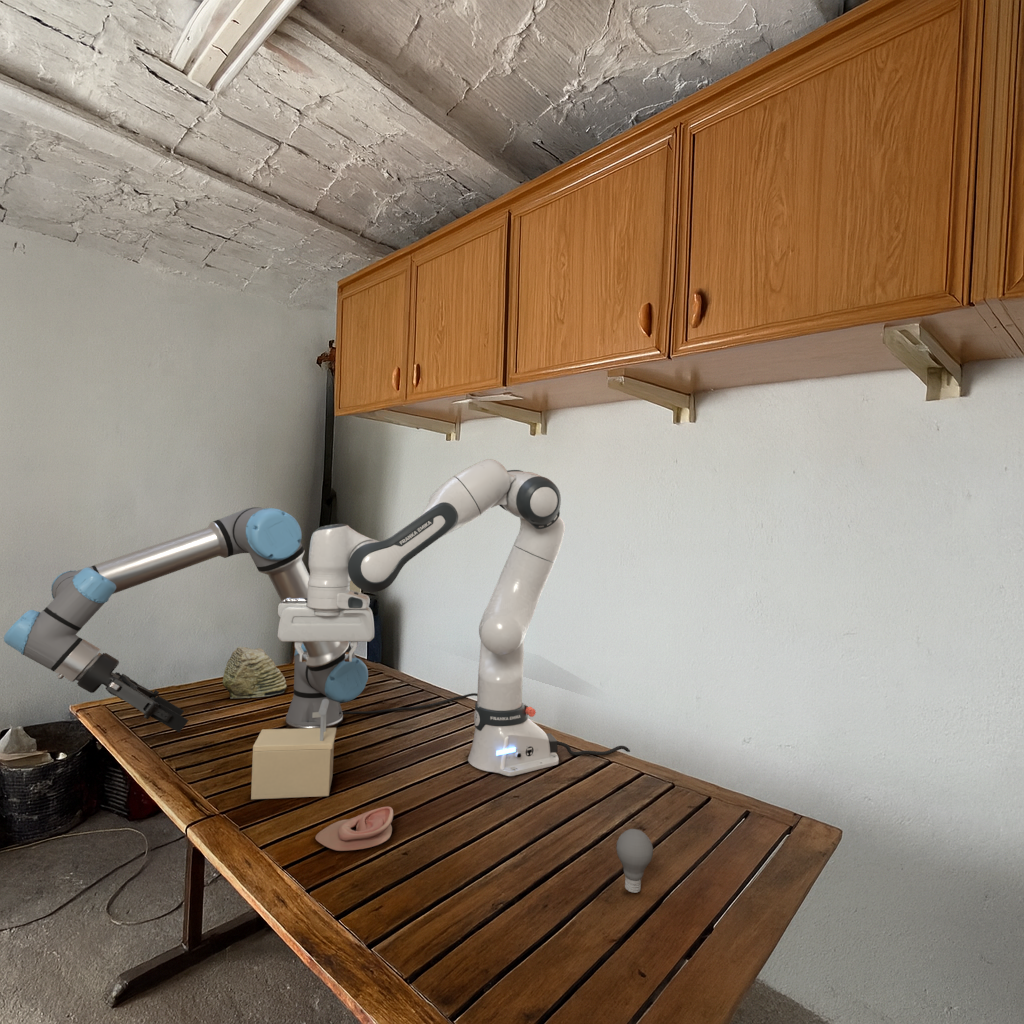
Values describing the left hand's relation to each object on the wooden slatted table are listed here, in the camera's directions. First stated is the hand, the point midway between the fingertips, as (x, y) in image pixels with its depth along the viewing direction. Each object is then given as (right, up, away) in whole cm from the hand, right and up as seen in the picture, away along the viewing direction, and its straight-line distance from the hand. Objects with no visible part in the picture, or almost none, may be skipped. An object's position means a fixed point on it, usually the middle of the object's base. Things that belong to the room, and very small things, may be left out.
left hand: (181, 721), depth 135 cm
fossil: (-10, -13, +63) cm, 65 cm away
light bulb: (+90, -19, -29) cm, 97 cm away
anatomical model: (+41, -16, -16) cm, 47 cm away
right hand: (+30, +12, +3) cm, 32 cm away
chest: (+23, -15, +3) cm, 28 cm away
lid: (+24, -5, +2) cm, 24 cm away
